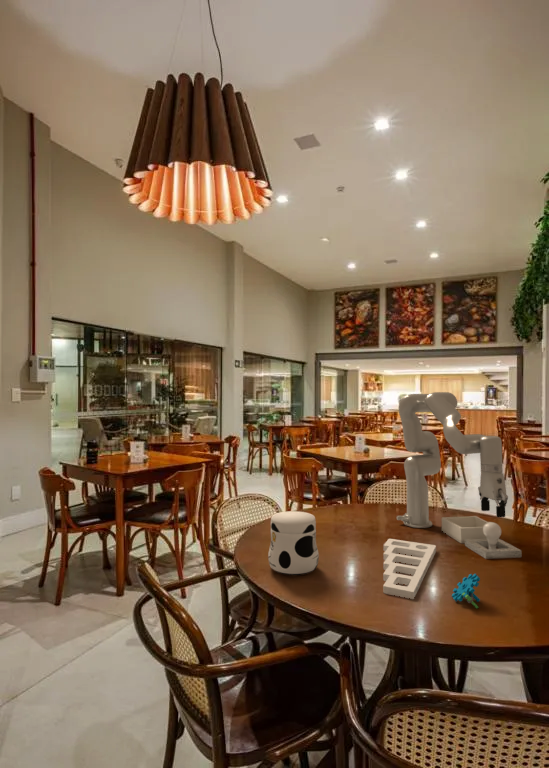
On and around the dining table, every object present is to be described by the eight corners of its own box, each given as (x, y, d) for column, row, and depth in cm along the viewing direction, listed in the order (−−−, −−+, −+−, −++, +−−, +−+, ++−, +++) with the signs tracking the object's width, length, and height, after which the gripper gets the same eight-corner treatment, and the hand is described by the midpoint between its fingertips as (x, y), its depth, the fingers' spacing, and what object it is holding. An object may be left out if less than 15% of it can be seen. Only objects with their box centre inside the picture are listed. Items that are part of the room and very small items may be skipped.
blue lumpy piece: (450, 585, 137) (475, 566, 133) (465, 600, 136) (490, 581, 132) (449, 605, 126) (477, 586, 123) (466, 622, 125) (493, 603, 122)
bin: (461, 543, 179) (460, 528, 179) (441, 531, 195) (441, 517, 195) (498, 541, 181) (498, 526, 181) (476, 529, 197) (476, 516, 197)
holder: (413, 601, 131) (413, 592, 131) (354, 589, 139) (354, 580, 139) (436, 552, 171) (436, 545, 171) (389, 545, 179) (388, 538, 179)
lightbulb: (500, 549, 172) (499, 520, 172) (502, 555, 166) (502, 525, 166) (482, 547, 174) (481, 519, 174) (484, 553, 168) (483, 523, 168)
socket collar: (485, 558, 162) (485, 552, 162) (465, 545, 176) (465, 539, 176) (521, 557, 164) (521, 550, 164) (498, 544, 178) (498, 538, 178)
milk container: (260, 564, 158) (260, 513, 158) (304, 557, 165) (304, 508, 165) (280, 583, 142) (280, 526, 142) (328, 574, 149) (327, 520, 149)
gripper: (515, 471, 162) (517, 519, 162) (487, 465, 180) (488, 508, 179) (496, 472, 162) (497, 520, 161) (469, 465, 179) (471, 508, 178)
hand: (493, 513), depth 170 cm, fingers open, 9 cm apart
